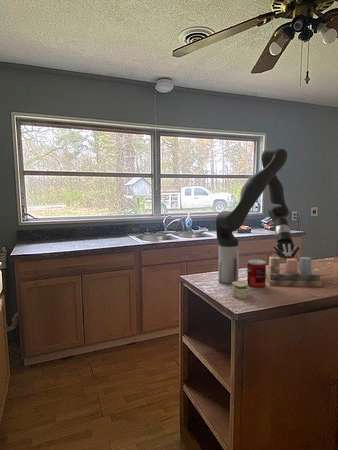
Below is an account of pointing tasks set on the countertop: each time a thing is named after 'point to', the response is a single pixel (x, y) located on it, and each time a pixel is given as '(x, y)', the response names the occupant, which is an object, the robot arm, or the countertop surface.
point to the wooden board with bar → (294, 279)
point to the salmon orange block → (291, 266)
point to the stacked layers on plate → (239, 289)
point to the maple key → (274, 265)
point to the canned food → (256, 273)
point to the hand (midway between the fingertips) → (289, 264)
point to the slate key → (304, 265)
